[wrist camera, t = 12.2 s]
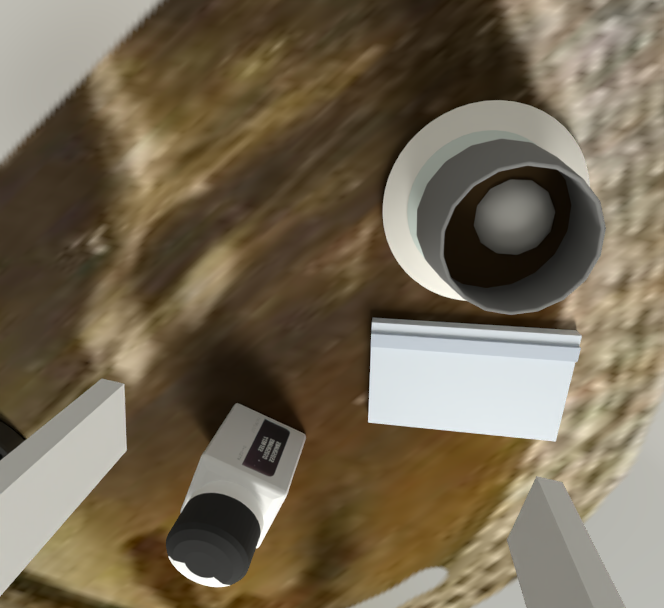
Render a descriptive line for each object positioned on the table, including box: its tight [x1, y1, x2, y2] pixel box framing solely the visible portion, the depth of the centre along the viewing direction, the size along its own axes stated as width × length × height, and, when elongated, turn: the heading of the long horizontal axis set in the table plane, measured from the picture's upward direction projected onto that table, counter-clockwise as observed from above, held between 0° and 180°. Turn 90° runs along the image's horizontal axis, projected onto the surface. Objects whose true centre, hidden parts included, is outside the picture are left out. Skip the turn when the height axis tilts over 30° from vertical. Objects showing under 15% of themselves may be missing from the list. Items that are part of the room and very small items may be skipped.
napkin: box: [368, 318, 582, 441], centre depth 35 cm, size 16×10×1 cm, turn 91°
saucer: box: [383, 100, 590, 301], centre depth 29 cm, size 14×14×1 cm
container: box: [166, 403, 306, 587], centre depth 36 cm, size 8×8×13 cm
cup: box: [417, 139, 606, 315], centre depth 24 cm, size 10×9×10 cm
